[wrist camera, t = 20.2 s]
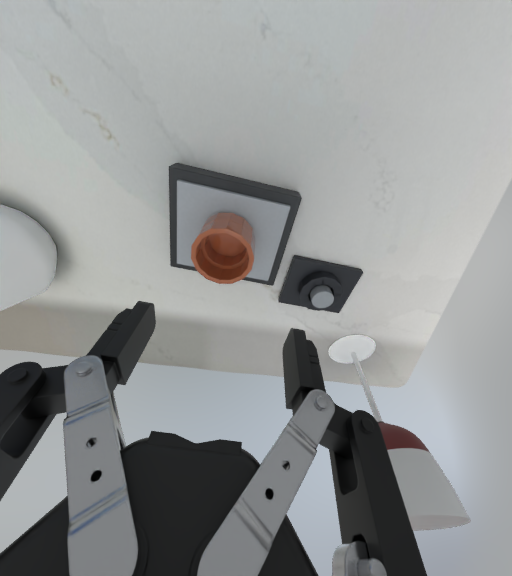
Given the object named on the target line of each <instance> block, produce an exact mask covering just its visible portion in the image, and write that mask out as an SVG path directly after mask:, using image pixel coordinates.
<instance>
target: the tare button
mask: <svg viewBox="0 0 512 576" xmlns="http://www.w3.org/2000/svg"><path fill="white" fill-rule="evenodd" d="M310 298H311V301H312V304H313V305H314V306H315V307H317V308H326V307H328V306H330V305H331V304H332V303H333V301H334V297H333V294H332V292H331V289H330V288H329V287H328V286H325V285H319V286H316V287H314V288H313V289H312V290H311V292H310Z"/></svg>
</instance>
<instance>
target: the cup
mask: <svg viewBox="0 0 512 576" xmlns="http://www.w3.org/2000/svg"><path fill="white" fill-rule="evenodd" d="M56 264H57V250H56V245H55V243H54V242H53V240H52V238H51V236H50V235H49V233H48V232H47V231H46V230H45V229H44V228H43V227H42V226H41V225H40V224H39V223H38V222H37V221H35V220H34V219H32V218H31V217H29V216H28V215H26V214H25V213H23V212H21V211H19V210H16V209H13V208H10V207H8V206H5V205H1V204H0V311H2V310H4V309H6V308H8V307H11V306H13V305H15V304H18V303H20V302H22V301H25V300H27V299H29V298H32V297H34V296H36V295H39V294H41V293H43V292H44V291H46V290H47V288H48V287H49V286H50V284H51V282H52V280H53V279H54V277H55V272H56Z"/></svg>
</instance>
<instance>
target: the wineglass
mask: <svg viewBox="0 0 512 576" xmlns="http://www.w3.org/2000/svg"><path fill="white" fill-rule="evenodd" d="M375 348H376V344H375V342H374V340H373V339H371V338H370V337H368V336H364V335H350V336H345V337H343V338H341V339H338V340H337V341H335V342H334V343H333V344H332V345H331V347H330V348H329V352H328V353H329V356H330V357H331V358H332V359H333V360H334V361H336V362H339V363H354V364H355V367H356V369H357V372H358V375H359V377H360V380H361V383H362V385H363V388H364V391H365V394H366V396H367V399H368V402H369V404H370V407H371V409H372V412H373V415H374V418H375V420H376V421H377V422H378V424H379V426H380V429H381V432H382V435H383V438H384V441H385V444H386V448H387V451H388V454H389V457H390V460H391V463H392V467H393V470H394V473H395V476H396V479H397V482H398V486H399V489H400V492H401V495H402V498H403V501H404V504H405V508H406V511H407V514H408V517H409V520H410V523H411V527H412V530H413V531H418V530H434V529H444V528H452V527H457V526H461V525H465V524H467V523H469V522H470V518H469V516H468V515H467V513H466V511H465V509H464V507H463V505H462V503H461V501H460V500H459V498H458V496H457V494H456V492H455V490H454V488H453V487H452V485H451V484H450V482H449V480H448V479H447V477H446V476H445V474H444V473H443V471H442V469H441V468H440V466H439V465H438V463H437V462H436V460H435V459H434V457H433V456H432V455H431V453H430V452H429V450H428V449H427V448H426V446H425V445H424V444H423V443H422V441H421V440H420V439H419V438H418V437H416V435H414V434H413V433H411V432H410V431H408V430H406V429H404V428H402V427H399V426H395V425H390V424H387V423H384V422H383V421H382V419H381V417H380V414H379V411H378V409H377V406H376V404H375V401H374V399H373V396H372V394H371V391H370V388H369V386H368V383H367V381H366V378H365V376H364V373H363V371H362V368H361V366H360V363H359V362H360V361H362V360H365V359H366V358H368V357H370V356H371V355H372V354H373V352H374V351H375Z"/></svg>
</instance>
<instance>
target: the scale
mask: <svg viewBox="0 0 512 576" xmlns="http://www.w3.org/2000/svg"><path fill="white" fill-rule="evenodd" d="M169 200H170V258H171V266H173V267H178V268H183V269H189V270H194V271H197V270H196V268H195V266H194V264H193V262H192V260H191V246H192V244H193V242H194V240H195V238H196V237H197V235H198V233H199V232H200V230H201V228H202V226H203V225H204V223H205V222H206V220H207V219H208V218H209V217H211V216H213V215H215V214H217V213H234V214H236V215H238V216H240V217H243V218H245V220H246V221H247V222H248V223H249V224H250V225H251V227H252V228H253V231H254V235H255V255H254V262H253V266H252V270H251V271H250V272H249V273H248V275H247V276H246V277H245V278H244V279H242V280H246V281H252V282H257V283H262V284H267V285H274V281H275V278H276V275H277V272H278V269H279V266H280V263H281V260H282V257H283V254H284V251H285V248H286V245H287V242H288V238H289V235H290V232H291V229H292V226H293V223H294V220H295V217H296V214H297V211H298V208H299V205H300V202H301V196H300V194H299V192H296V191H292V190H288V189H284V188H280V187H276V186H271V185H267V184H263V183H259V182H255V181H250V180H246V179H242V178H238V177H234V176H230V175H225V174H221V173H217V172H213V171H209V170H205V169H200V168H196V167H192V166H188V165H184V164H179V163H175V164H173V165H171V166H169Z"/></svg>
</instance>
